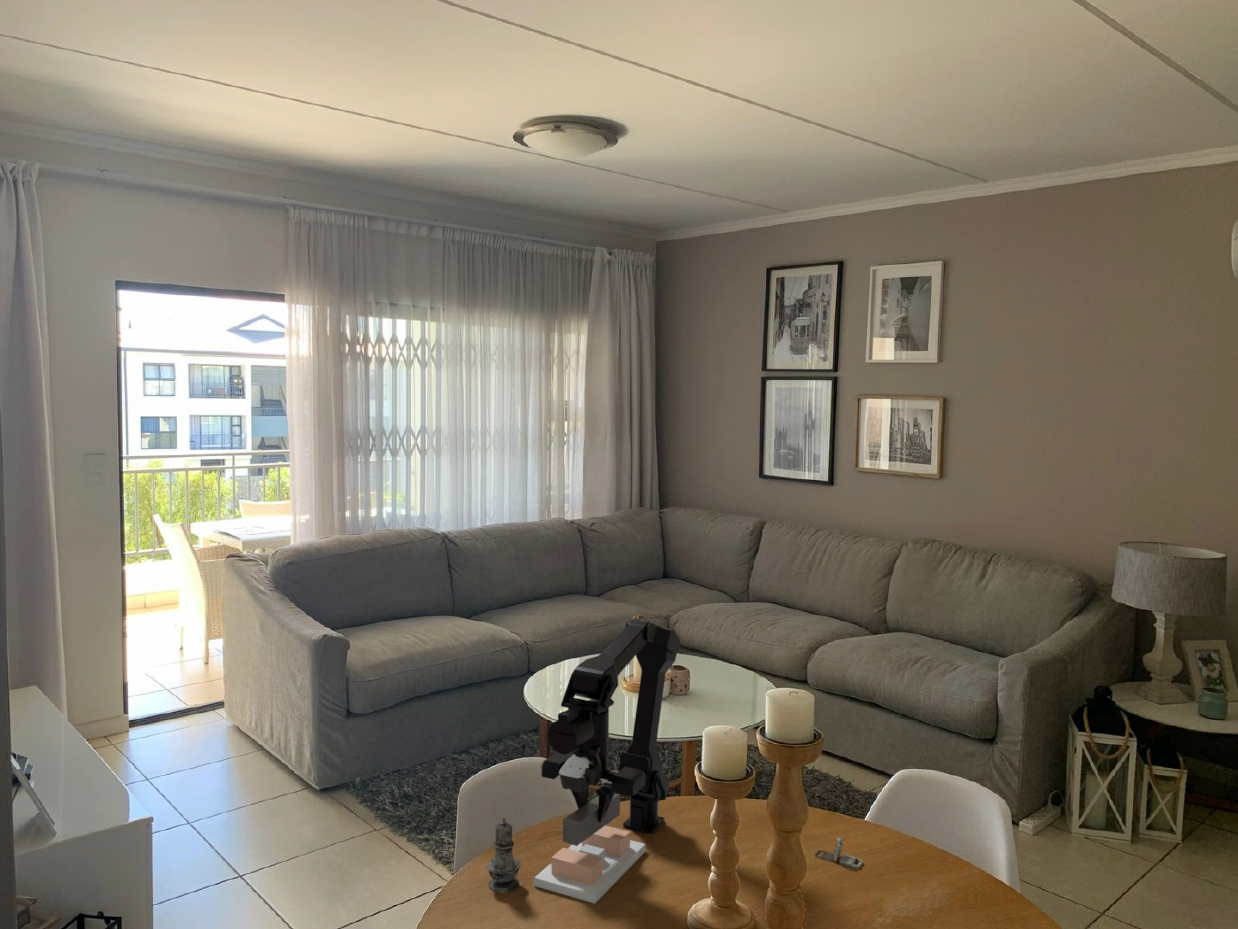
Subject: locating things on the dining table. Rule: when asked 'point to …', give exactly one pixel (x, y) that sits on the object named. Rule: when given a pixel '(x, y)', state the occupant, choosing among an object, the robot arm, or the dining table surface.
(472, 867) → the dining table surface
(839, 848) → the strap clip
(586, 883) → the display stand
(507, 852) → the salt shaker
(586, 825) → the frame bar
